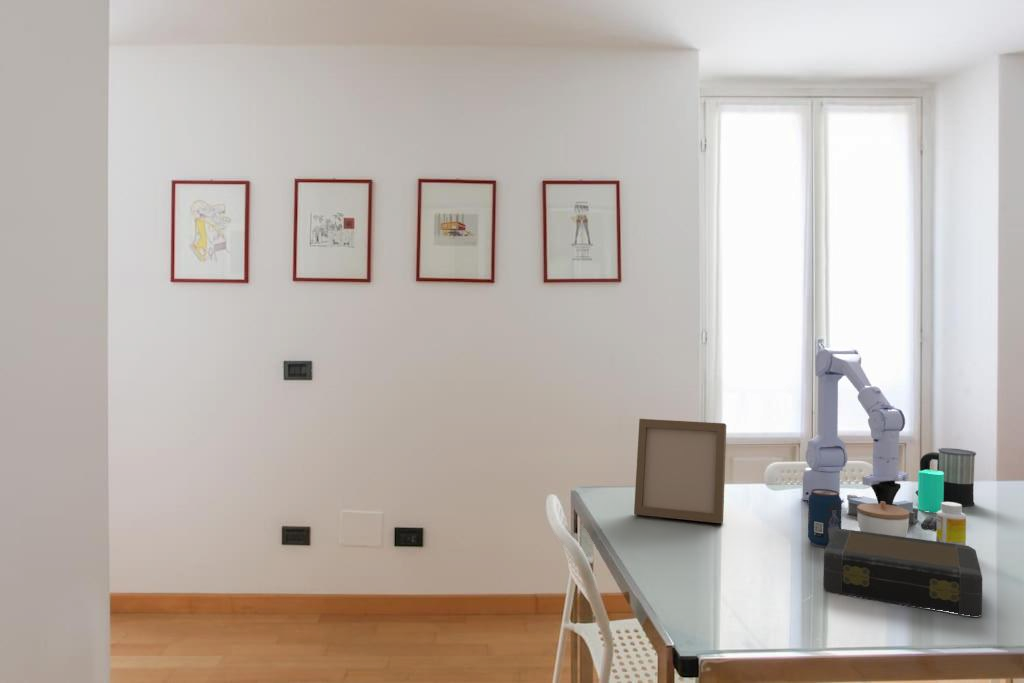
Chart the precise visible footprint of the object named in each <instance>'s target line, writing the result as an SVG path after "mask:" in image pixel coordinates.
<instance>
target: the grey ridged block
mask: <svg viewBox="0 0 1024 683" xmlns="http://www.w3.org/2000/svg"><path fill="white" fill-rule="evenodd" d="M920 527H921V528H922V529H924V528H927V529H929V530H931V529H935V530H937V515H936V516H933V515H927V516H926V517H925V519H924V520H922V522H921V524H920Z"/></svg>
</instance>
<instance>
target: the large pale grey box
mask: <svg viewBox="0 0 1024 683" xmlns="http://www.w3.org/2000/svg"><path fill="white" fill-rule="evenodd" d="M847 502H848V501H847ZM847 504H848V505H847V508H848V509H847V510H848V511H847V512H848V515H849V514H850V515H849V516H855V517H857V513H858V511H857V506H858V505H857V504H853V503H849V502H848V503H847ZM918 520H919V509H918V507H913V512H911V513H910V515H909V525H911V526H912V525H913V526H914V525H915V524H916V523H917V522H918Z"/></svg>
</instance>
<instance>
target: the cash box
mask: <svg viewBox="0 0 1024 683" xmlns="http://www.w3.org/2000/svg"><path fill="white" fill-rule="evenodd" d="M822 583H823V589H824V590H825V591H826V592H828V591H829V592H828V593H831V592H832V593H831V594H836V593H838V595H842V594H843V595H842V596H848V595H850V596H849V597H853V596H856V597H855V598H859V597H862V598H861V599H865V598H866V599H865V600H870V599H873V600H872V601H876V600H878V601H877V602H882V601H883V602H882V603H887V602H889V604H893V603H894V604H893V605H899V604H901V605H900V606H904V605H907V606H906V607H910V606H915V607H914V608H916V607H922V608H930V609H935V610H943V611H949V612H954V613H958V614H964V615H970V616H979V615H981V616H982V614H983V575H982V570H981V567H980V562H979V558H978V555H977V551H976V549H975V548H973V547H971V546H969V545H959V544H952V543H945V542H937V541H936V540H930V539H929V540H928V539H921V538H914V537H906V536H905V537H900V536H892V535H885V534H877V533H870V532H862V531H860V530H856V529H855V530H854V529H847V528H841V529H837V530H834V531H833V533H832V536H831V538H830V540H829V543H828V545H827V547H826V548H825V550H824V552H823V582H822ZM979 617H980V616H979Z"/></svg>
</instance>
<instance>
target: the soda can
mask: <svg viewBox="0 0 1024 683" xmlns="http://www.w3.org/2000/svg"><path fill="white" fill-rule="evenodd" d="M811 492H812V493H811V494H810V496H809V501H808V502H807V504H808V509H807V510H808V511H807V512H808V513H807V514H808V515H807V516H808V518H807V538H808V540H809V541H810V543H811V545H813V546H815V547H820V548H825V549H826V547H827V545H828V543H829V540H830V538H831V536H832V533H833V531H834V530H837V529H842V512H843V511H842V504H843V503H842V502H843V501H841V498H842V497H841V495H840V496H839V493H838V492H837V491H834V490H828V489H813V490H812V491H811Z"/></svg>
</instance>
